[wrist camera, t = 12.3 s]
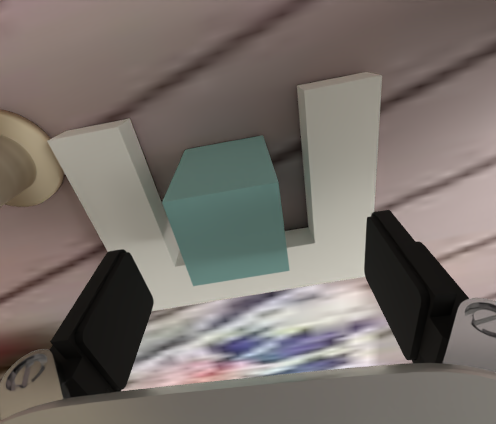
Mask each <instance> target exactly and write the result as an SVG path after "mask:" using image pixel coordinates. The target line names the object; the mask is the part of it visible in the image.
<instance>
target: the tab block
mask: <svg viewBox="0 0 496 424" xmlns="http://www.w3.org/2000/svg"><path fill="white" fill-rule="evenodd" d="M162 204H163V207H164V209H165V212H166V215H167V217H168V220H169V223H170V225H171V228H172V231H173V233H174V236H175V239H176V241H177V244H178V247H179V250H180V252H181V255H182V258H183V260H184V263H185V266H186V268H187V271H188V274H189V276H190V279H191V282H192V284H193V286H198V285H204V284H210V283H217V282H223V281H229V280H235V279H242V278H248V277H254V276H260V275H267V274H273V273H279V272H285V271H290V269H289V262H288V254H287V246H286V238H285V230H284V222H283V214H282V206H281V198H280V191H279V183H278V179H277V176H276V173H275V170H274V167H273V164H272V161H271V158H270V155H269V152H268V149H267V146H266V143H265V140H264V137H263V135H262V136H257V137H251V138H246V139H240V140H235V141H229V142H224V143H218V144H213V145H207V146H202V147H196V148H191V149H186V150H185V151H184V154H183V156H182V158H181V160H180V163H179V165H178V167H177V169H176V172H175V174H174V176H173V179H172V181H171V183H170V185H169V188H168V190H167V192H166V194H165V197H164V199H163V201H162Z"/></svg>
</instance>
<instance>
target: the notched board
mask: <svg viewBox="0 0 496 424" xmlns="http://www.w3.org/2000/svg"><path fill="white" fill-rule="evenodd" d="M381 87H382V75H378V74H374V73H369V72H363V73H358V74H353V75H348V76H343V77H338V78H333V79H328V80H323V81H318V82H312V83H307V84H302V85H297V95H298V107H299V119H300V132H301V144H302V156H303V168H304V180H305V193H306V205H307V217H308V227H307V228H301V229H295V230H289V231H285V238H286V246H287V254H288V262H289V269H290V271H285V272H279V273H273V274H267V275H260V276H254V277H248V278H242V279H235V280H229V281H223V282H217V283H210V284H204V285H198V286H193V284H192V282H191V279H190V276H189V274H188V271H187V268H186V266H185V263H184V260H183V258H182V255H181V252H180V250H179V247H178V244H177V241H176V239H175V236H174V234H173V231H172V228H171V226H170V223H169V220H168V218H167V215H166V213H165V210H164V207H163V205H162V202H161V199H160V197H159V194H158V192H157V189H156V186H155V184H154V181H153V178H152V176H151V173H150V171H149V168H148V165H147V163H146V160H145V157H144V155H143V152H142V150H141V147H140V144H139V142H138V139H137V136H136V134H135V131H134V128H133V126H132V123H131V121H130V118H129V119H124V120H119V121H114V122H109V123H104V124H99V125H94V126H89V127H84V128H79V129H73V130H68V131H65V132H63V133H61V134H59V135H57V136H55V137H53V138H51V139H50V140H48V141H47V142H48V144H49V145H50V147H51V149H52V151H53V153H54V155H55V156H56V158H57V160H58V162H59V164H60V166H61V167H62V169H63V171H64V173H65V175H66V177H67V178H68V180H69V182H70V184H71V186H72V187H73V189H74V191H75V193H76V195H77V197H78V198H79V200H80V202H81V204H82V206H83V208H84V209H85V211H86V213H87V215H88V217H89V219H90V220H91V222H92V224H93V226H94V228H95V229H96V231H97V233H98V235H99V237H100V239H101V240H102V242H103V244H104V246H105V248H106V250H107V251H108V252H109V251H114V250H121V249H124V250H125V251H126V252H129V253H130V254H131V255H132V257H133V259H134V261H135V263H136V265H137V267H138V269H139V271H140V273H141V275H142V277H143V279H144V281H145V283H146V285H147V287H148V289H149V291H150V292H151V294H152V296H153V300H154V304H153V308H152V311H156V310H162V309H168V308H175V307H181V306H187V305H193V304H199V303H206V302H212V301H218V300H224V299H230V298H237V297H243V296H249V295H255V294H261V293H268V292H274V291H280V290H286V289H292V288H299V287H305V286H311V285H317V284H324V283H330V282H336V281H342V280H348V279H355V278H361V277H365V273H364V262H365V242H366V223H367V217H371V215H372V213H373V212H374V205H375V188H376V172H377V155H378V138H379V121H380V104H381Z"/></svg>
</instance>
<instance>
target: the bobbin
mask: <svg viewBox="0 0 496 424" xmlns="http://www.w3.org/2000/svg"><path fill="white" fill-rule="evenodd" d="M48 140H50V137H49V136H48V135H47V134H46V133H45V132H44V131H43V130H42V129H40V128H39V127H38V126H37V125H35V124H34V123H33V122H31V121H29V120H28V119H26V118H24V117H22V116H20V115H18V114H15V113H12V112H9V111H5V110H0V207H1V206H3V205H4V204H5V205H10V206H17V207H28V206H34V205H38V204H40V203H42V202H44V201H46V200H47V199H48V198H49V197H51V196H52V195H53V194H54V193H55V192H56V191H57V190H58V189H59V188H60V186H61V184H62V182H63V178H64V171H63V169H62V167H61V166H60V164H59V162H58V160H57V158H56V156H55V155H54V153H53V151H52V149H51V147H50V145H49V144H48V142H47V141H48Z"/></svg>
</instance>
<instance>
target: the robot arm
mask: <svg viewBox="0 0 496 424" xmlns="http://www.w3.org/2000/svg"><path fill="white" fill-rule="evenodd" d="M364 273H365V277H366V279H367V281H368V283H369V285H370V288H371V290H372V292H373V294H374V296H375V298H376V300H377V302H378V304H379V306H380V308H381V310H382V312H383V314H384V316H385V318H386V320H387V322H388V324H389V326H390V328H391V330H392V332H393V334H394V336H395V338H396V340H397V342H398V344H399V346H400V348H401V350H402V353H403V355H404V356H405V358H406V359H407V360H412V362H413V363H412V364H394V365H381V366H369V367H356V368H345V369H334V370H324V371H314V372H303V373H293V374H283V375H273V376H263V377H253V378H243V379H233V380H223V381H214V382H204V383H194V384H185V385H175V386H166V387H157V388H147V389H138V390H129V391H121V389H124V388H125V386H126V384H127V381H128V378H129V375H130V373H131V370H132V367H133V364H134V361H135V358H136V355H137V352H138V349H139V346H140V343H141V340H142V337H143V334H144V332H145V329H146V326H147V323H148V320H149V317H150V314H151V311H152V308H153V304H154V300H153V296H152V294H151V292H150V291H149V289H148V287H147V285H146V283H145V281H144V279H143V277H142V275H141V273H140V271H139V269H138V267H137V265H136V263H135V261H134V259H133V257H132V255H131V254H130V253H129V252H126V251H125V250H124V249H121V250H114V251H109V252H107V254H106V255H105V257H104V258H103V260H102V261H101V263H100V265H99V266H98V268H97V269H96V271H95V272H94V274H93V276H92V277H91V279H90V280H89V282H88V283H87V285H86V287H85V288H84V290H83V291H82V293H81V294H80V296H79V298H78V299H77V301H76V302H75V304H74V305H73V307H72V309H71V310H70V312H69V313H68V315H67V316H66V318H65V320H64V321H63V323H62V324H61V326H60V327H59V329H58V331H57V332H56V334H55V335H54V337H53V338H52V340H51V343H52V345H53V346H52V347H51V349H50V350H47V349H40V350H36V351H33V352H31V353H29V354H27V355H25V356H24V357H22V358H21V359H20V360H18V361H17V362H16V363H15V364H14V365H13V366H12V367H11V368H10V369H9V370H8V371H7V373H6V374H5V375H4V377H3V379H2V381H1V383H0V424H496V301H493V300H489V299H485V298H472V299H469V298H468V296H467V295H466V294H465V293H464V292H463V291H462V289H461V288H460V287H459V286H458V285H457V283H456V282H455V281H454V280H453V279H452V278H451V276H450V275H449V274H448V273H447V272H446V270H445V269H444V268H443V267H442V266H441V265H440V263H439V262H438V261H437V260H436V259H435V257H434V256H433V255H432V254H431V253H430V252H429V250H428V249H427V248H426V247H425V246H424V245H423V244H422V243H421V242H415V241H414V239H413V238H412V237H411V236H410V234H409V233H408V232H407V231H406V230H405V228H404V227H403V226H402V225H401V223H400V222H399V221H398V220H397V219H396V217H395V216H394V215H393V214H392V212H391V211H389V210H385V211H378V212H373V213H372V215H371V217H367V223H366V242H365V262H364Z"/></svg>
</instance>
